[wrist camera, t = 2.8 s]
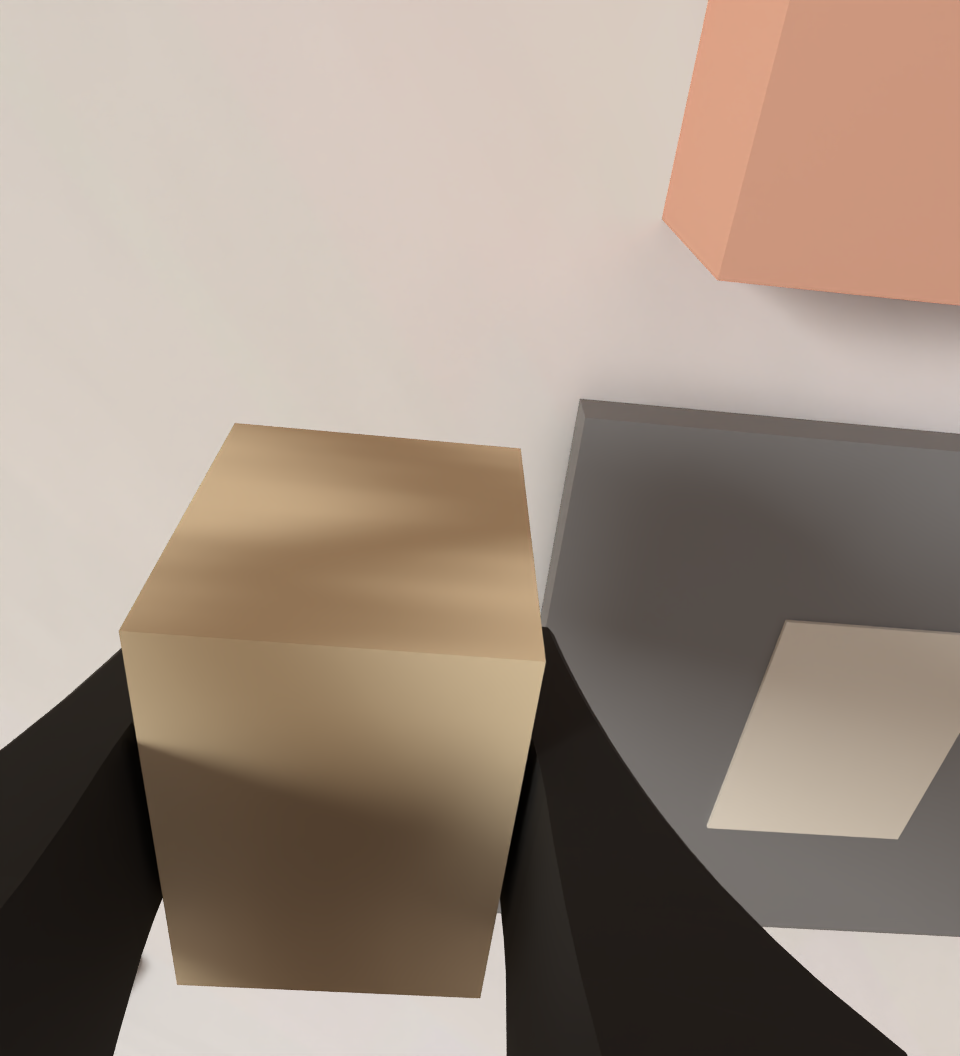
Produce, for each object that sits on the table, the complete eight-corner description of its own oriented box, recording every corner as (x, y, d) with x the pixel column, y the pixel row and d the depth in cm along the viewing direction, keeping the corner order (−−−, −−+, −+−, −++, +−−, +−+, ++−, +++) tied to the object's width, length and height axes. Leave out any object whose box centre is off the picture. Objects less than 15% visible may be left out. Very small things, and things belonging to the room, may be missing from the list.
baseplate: (1319, 467, 20) (1361, 490, 19) (994, 912, 29) (1011, 941, 28) (580, 399, 19) (585, 419, 18) (491, 885, 28) (492, 915, 27)
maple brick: (520, 448, 12) (545, 661, 8) (477, 745, 15) (480, 997, 11) (234, 422, 11) (119, 630, 8) (252, 730, 15) (177, 984, 11)
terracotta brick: (974, -131, 14) (1167, -182, 10) (851, 238, 17) (962, 305, 13) (741, -164, 14) (849, -230, 10) (661, 217, 17) (717, 280, 13)
